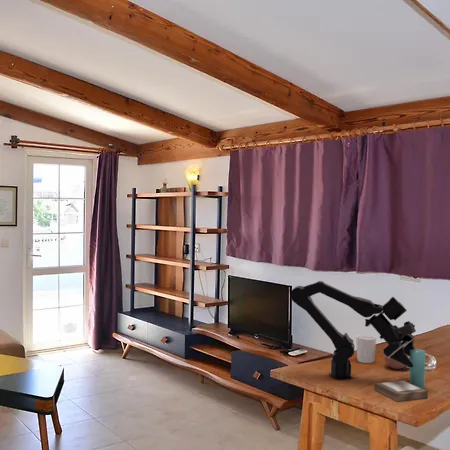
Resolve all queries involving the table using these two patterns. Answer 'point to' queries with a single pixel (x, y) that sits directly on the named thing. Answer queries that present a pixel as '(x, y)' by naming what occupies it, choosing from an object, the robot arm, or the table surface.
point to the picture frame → (401, 390)
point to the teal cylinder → (417, 367)
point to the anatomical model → (394, 362)
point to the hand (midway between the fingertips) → (416, 364)
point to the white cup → (365, 348)
